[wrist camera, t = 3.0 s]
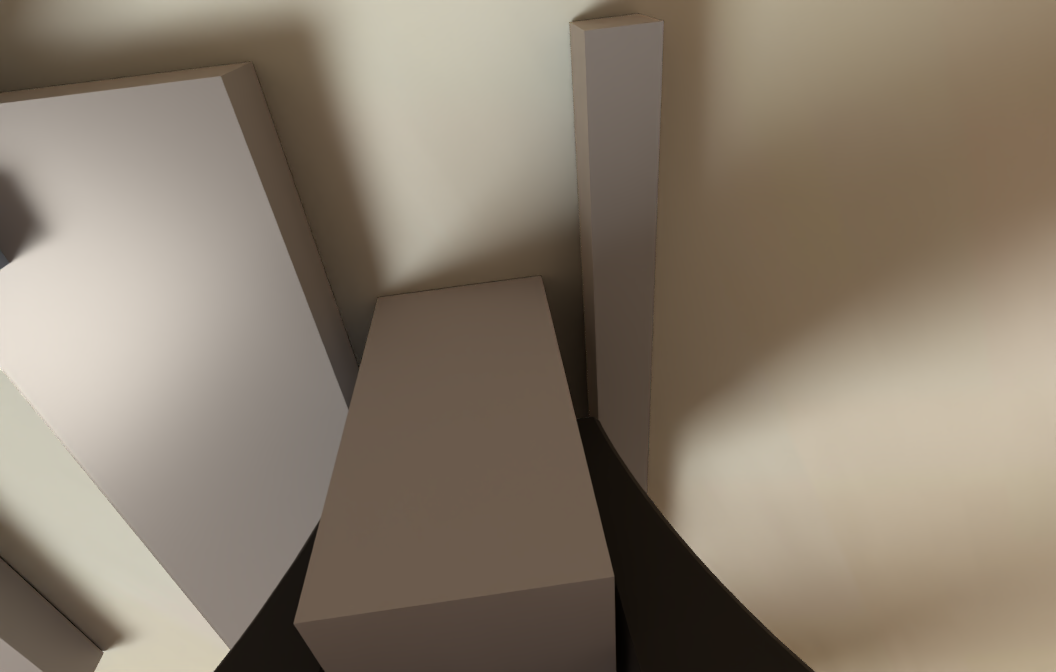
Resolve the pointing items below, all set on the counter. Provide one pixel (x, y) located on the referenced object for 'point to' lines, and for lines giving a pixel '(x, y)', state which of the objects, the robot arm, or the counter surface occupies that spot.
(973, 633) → the counter surface
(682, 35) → the counter surface
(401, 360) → the tall taupe box
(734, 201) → the counter surface
